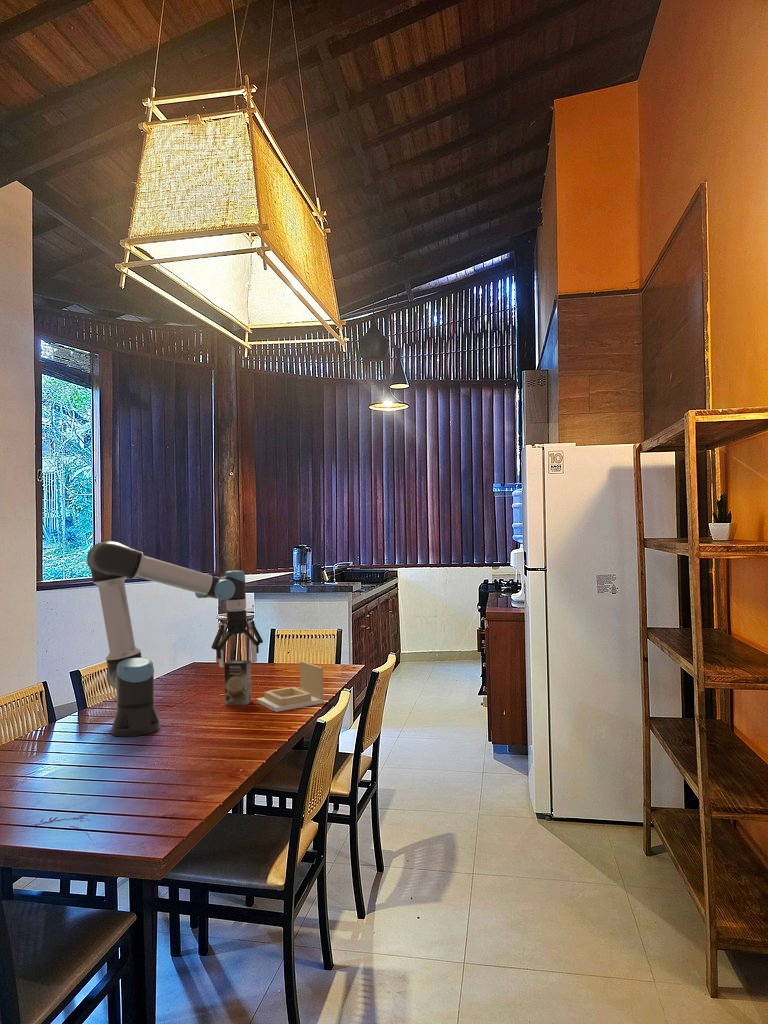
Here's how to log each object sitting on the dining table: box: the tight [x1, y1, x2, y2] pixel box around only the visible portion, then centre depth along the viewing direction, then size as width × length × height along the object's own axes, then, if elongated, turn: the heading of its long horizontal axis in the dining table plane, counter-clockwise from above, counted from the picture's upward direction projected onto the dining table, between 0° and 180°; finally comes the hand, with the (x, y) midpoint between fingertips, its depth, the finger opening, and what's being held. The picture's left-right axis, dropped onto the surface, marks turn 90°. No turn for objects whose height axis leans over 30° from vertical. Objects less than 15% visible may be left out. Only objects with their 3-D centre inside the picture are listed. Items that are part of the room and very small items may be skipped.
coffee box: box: [224, 659, 252, 706], centre depth 254 cm, size 9×6×16 cm
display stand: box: [256, 660, 325, 713], centre depth 251 cm, size 20×18×14 cm
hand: (238, 664), depth 254 cm, fingers open, 13 cm apart
